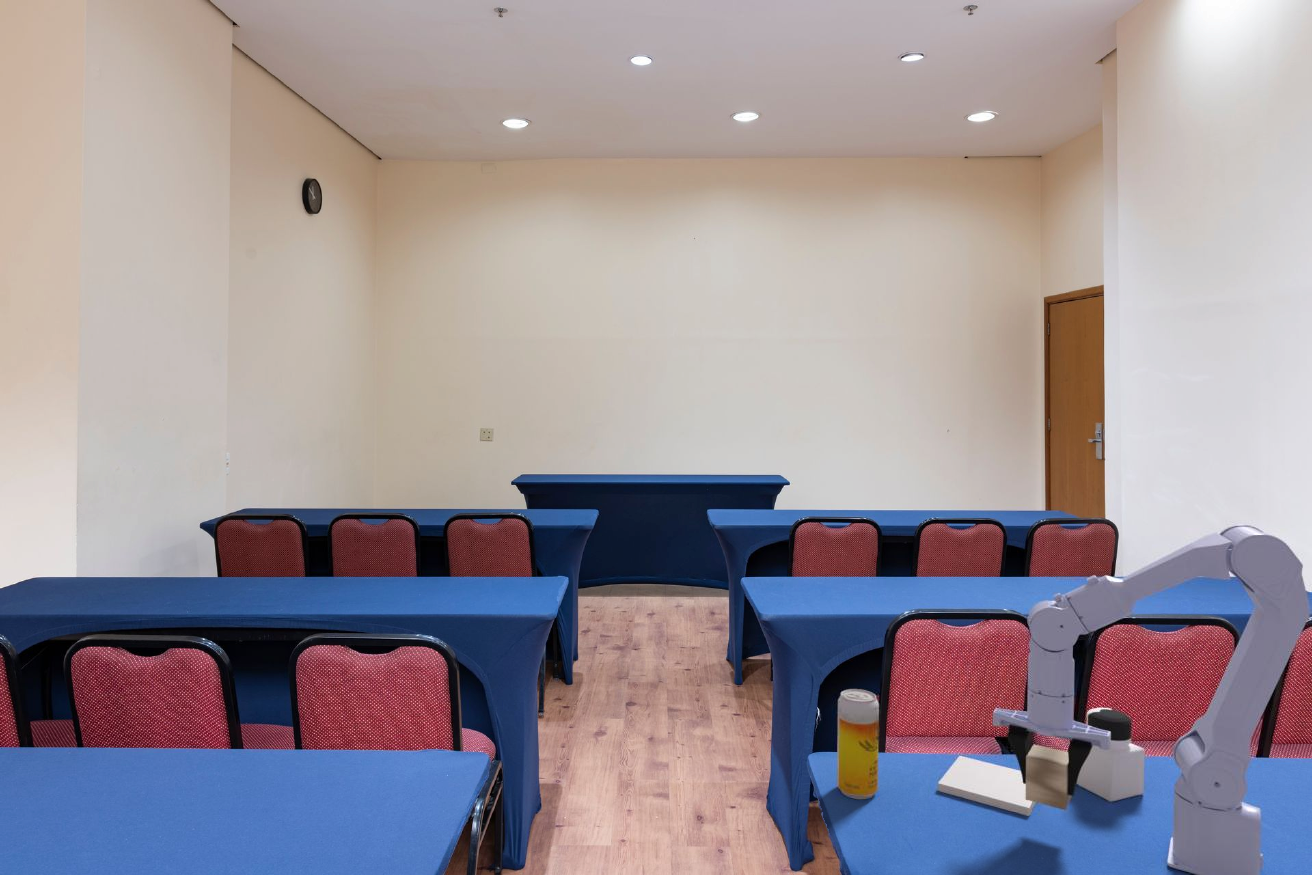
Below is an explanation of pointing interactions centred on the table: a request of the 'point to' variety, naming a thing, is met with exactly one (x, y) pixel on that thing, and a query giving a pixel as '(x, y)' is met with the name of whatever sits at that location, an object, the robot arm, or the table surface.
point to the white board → (987, 785)
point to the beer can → (857, 743)
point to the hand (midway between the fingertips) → (1048, 786)
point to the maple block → (1047, 777)
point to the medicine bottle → (1113, 759)
